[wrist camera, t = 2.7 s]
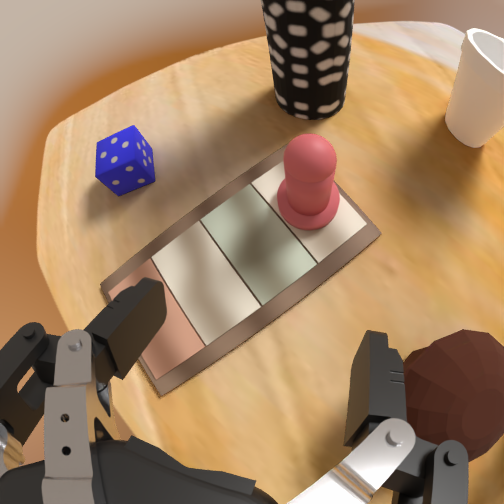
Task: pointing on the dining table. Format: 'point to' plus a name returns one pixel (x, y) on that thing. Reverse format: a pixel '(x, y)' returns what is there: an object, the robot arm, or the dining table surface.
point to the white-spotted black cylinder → (309, 54)
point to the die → (124, 161)
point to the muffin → (457, 391)
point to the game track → (235, 270)
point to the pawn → (308, 183)
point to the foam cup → (478, 90)
